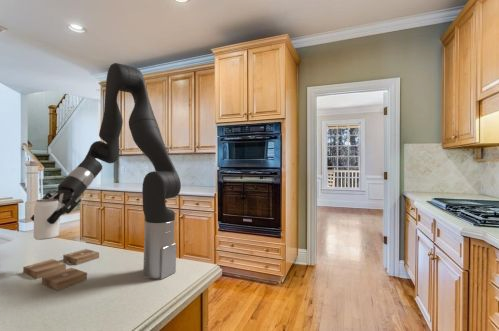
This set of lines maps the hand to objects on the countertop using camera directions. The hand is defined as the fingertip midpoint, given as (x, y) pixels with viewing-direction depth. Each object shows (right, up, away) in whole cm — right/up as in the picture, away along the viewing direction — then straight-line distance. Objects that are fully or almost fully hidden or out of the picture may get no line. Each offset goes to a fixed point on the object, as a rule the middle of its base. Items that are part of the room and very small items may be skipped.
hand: (41, 221), depth 81 cm
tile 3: (+4, -17, +13) cm, 21 cm away
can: (0, -6, +2) cm, 6 cm away
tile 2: (0, -16, +1) cm, 16 cm away
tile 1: (+11, -17, -5) cm, 21 cm away
